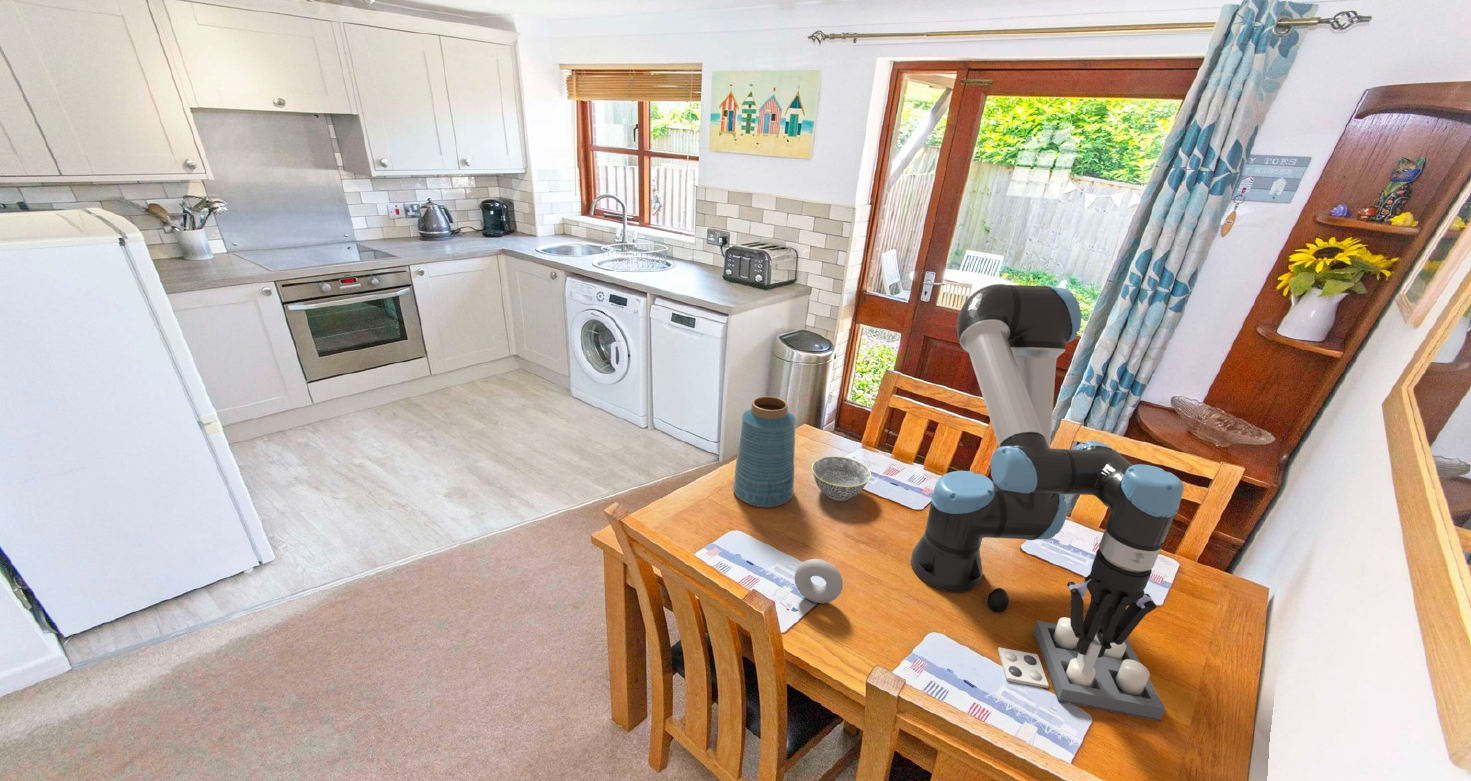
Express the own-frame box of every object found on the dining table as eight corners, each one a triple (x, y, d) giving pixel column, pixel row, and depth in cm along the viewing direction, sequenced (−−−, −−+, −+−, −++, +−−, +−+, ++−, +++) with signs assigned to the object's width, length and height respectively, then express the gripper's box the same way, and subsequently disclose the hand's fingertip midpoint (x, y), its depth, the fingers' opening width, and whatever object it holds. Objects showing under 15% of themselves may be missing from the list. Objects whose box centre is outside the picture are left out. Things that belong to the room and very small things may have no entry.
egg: (1008, 617, 117) (1014, 598, 115) (987, 613, 118) (993, 594, 116) (1003, 602, 121) (1009, 584, 119) (983, 599, 122) (988, 581, 120)
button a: (1067, 691, 101) (1074, 674, 99) (1060, 672, 104) (1066, 656, 103) (1092, 695, 100) (1099, 679, 98) (1084, 676, 104) (1090, 660, 102)
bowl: (809, 475, 165) (811, 452, 162) (865, 481, 163) (868, 458, 160) (808, 506, 150) (811, 482, 147) (869, 514, 149) (873, 489, 146)
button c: (1056, 647, 107) (1062, 631, 106) (1050, 631, 111) (1055, 615, 109) (1079, 651, 106) (1085, 635, 105) (1072, 635, 110) (1078, 619, 109)
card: (1006, 679, 103) (1007, 677, 103) (997, 649, 109) (998, 646, 109) (1047, 687, 102) (1048, 685, 102) (1036, 656, 108) (1037, 653, 108)
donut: (841, 600, 119) (847, 562, 115) (838, 612, 116) (844, 573, 112) (794, 588, 122) (798, 550, 118) (790, 598, 119) (794, 560, 115)
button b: (1120, 692, 99) (1128, 675, 97) (1111, 673, 102) (1118, 657, 101) (1146, 697, 98) (1154, 680, 96) (1136, 678, 101) (1143, 661, 100)
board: (1058, 701, 99) (1062, 688, 98) (1033, 631, 114) (1036, 620, 113) (1159, 721, 97) (1165, 708, 96) (1120, 647, 111) (1125, 635, 110)
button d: (1099, 663, 107) (1106, 647, 105) (1092, 647, 110) (1098, 631, 109) (1123, 668, 106) (1130, 652, 104) (1114, 651, 110) (1121, 635, 108)
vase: (748, 515, 146) (754, 421, 135) (723, 482, 159) (727, 394, 149) (804, 503, 152) (814, 412, 141) (776, 472, 166) (783, 387, 155)
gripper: (1089, 566, 89) (1049, 677, 98) (1182, 581, 87) (1133, 692, 96) (1072, 537, 96) (1037, 643, 105) (1158, 550, 94) (1115, 657, 103)
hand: (1083, 666), depth 100 cm, fingers closed
